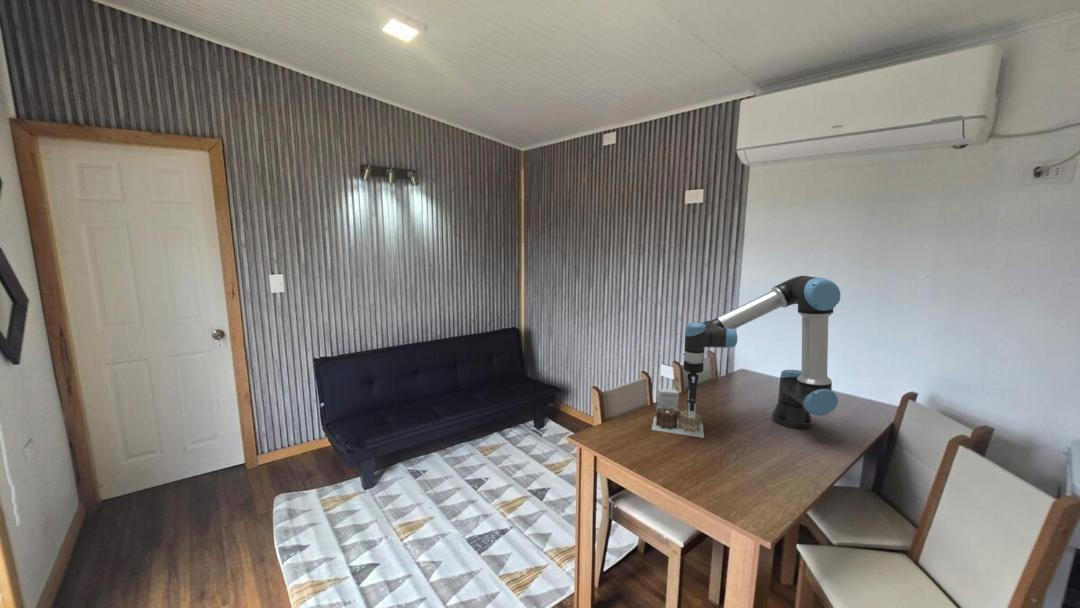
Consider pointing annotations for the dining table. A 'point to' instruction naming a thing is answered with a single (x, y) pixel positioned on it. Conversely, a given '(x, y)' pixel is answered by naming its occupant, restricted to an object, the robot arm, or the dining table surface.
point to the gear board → (677, 430)
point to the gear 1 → (667, 418)
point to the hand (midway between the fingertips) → (691, 411)
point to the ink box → (668, 399)
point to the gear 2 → (689, 422)
